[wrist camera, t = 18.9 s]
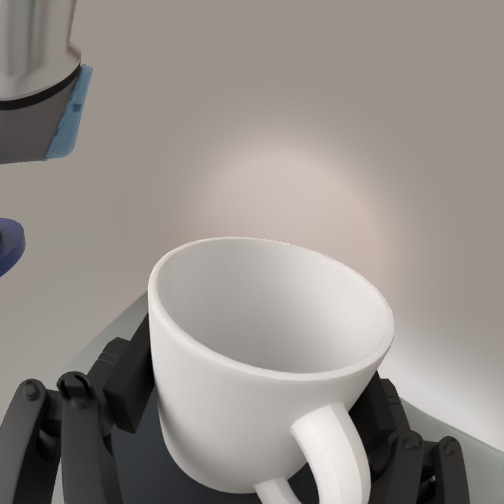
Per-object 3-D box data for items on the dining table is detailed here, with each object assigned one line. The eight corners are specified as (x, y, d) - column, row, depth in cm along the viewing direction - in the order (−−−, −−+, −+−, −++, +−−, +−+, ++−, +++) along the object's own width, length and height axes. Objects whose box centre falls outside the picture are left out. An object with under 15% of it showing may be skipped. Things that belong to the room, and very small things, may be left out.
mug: (357, 519, 8) (509, 411, 4) (198, 568, 5) (204, 601, 1) (276, 375, 18) (319, 239, 14) (156, 386, 15) (150, 232, 11)
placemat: (60, 453, 9) (54, 446, 9) (172, 353, 19) (172, 344, 19) (326, 585, 4) (334, 585, 4) (371, 433, 15) (378, 426, 14)
